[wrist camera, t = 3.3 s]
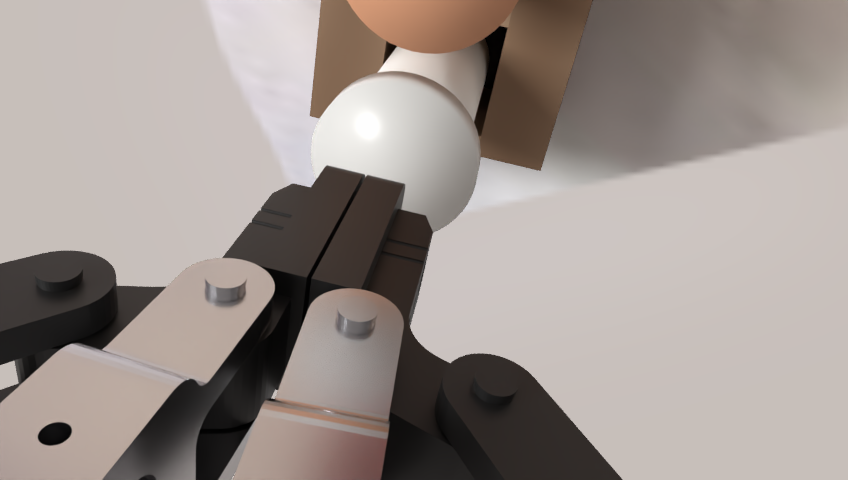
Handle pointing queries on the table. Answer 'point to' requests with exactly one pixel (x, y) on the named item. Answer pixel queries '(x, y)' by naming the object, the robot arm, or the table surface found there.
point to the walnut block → (498, 108)
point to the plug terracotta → (433, 22)
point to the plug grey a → (411, 128)
